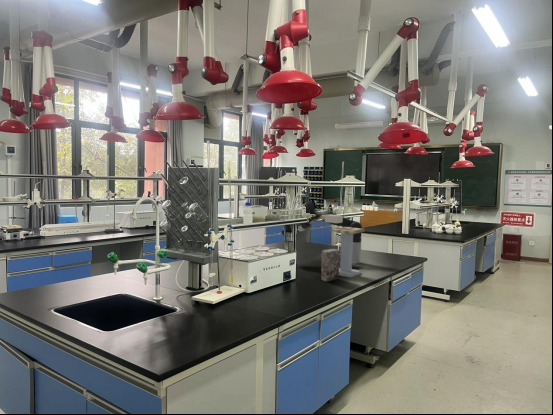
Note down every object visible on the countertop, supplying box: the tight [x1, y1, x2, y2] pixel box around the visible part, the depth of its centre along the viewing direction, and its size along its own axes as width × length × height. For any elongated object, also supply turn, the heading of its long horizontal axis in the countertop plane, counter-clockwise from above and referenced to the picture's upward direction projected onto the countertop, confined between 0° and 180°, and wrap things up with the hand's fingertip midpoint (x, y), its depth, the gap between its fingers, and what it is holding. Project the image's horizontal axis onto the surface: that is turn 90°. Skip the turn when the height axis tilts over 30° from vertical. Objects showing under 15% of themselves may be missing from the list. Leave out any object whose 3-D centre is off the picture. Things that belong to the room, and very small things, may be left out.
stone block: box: [320, 248, 341, 282], centre depth 254 cm, size 13×7×20 cm, turn 136°
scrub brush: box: [312, 214, 344, 223], centre depth 281 cm, size 23×8×5 cm, turn 53°
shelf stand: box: [329, 226, 366, 279], centre depth 272 cm, size 16×22×32 cm
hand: (320, 215), depth 284 cm, fingers closed on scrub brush, 2 cm apart
